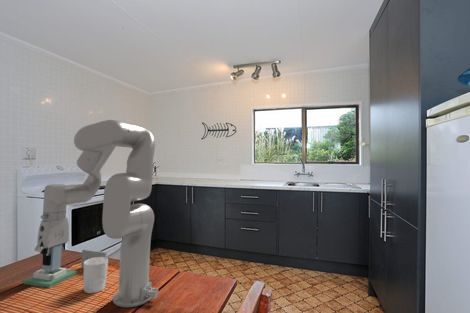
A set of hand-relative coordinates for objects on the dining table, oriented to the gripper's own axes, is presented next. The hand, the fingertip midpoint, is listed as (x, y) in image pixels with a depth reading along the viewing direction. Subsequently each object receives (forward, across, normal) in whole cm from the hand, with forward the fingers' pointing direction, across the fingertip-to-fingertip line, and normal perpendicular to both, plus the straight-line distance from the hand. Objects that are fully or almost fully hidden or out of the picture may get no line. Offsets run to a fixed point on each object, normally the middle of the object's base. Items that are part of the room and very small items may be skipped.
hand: (51, 262), depth 98 cm
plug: (+2, 0, 0) cm, 2 cm away
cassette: (+6, +12, -9) cm, 16 cm away
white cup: (+6, -2, -22) cm, 23 cm away
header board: (+6, 0, 0) cm, 6 cm away
